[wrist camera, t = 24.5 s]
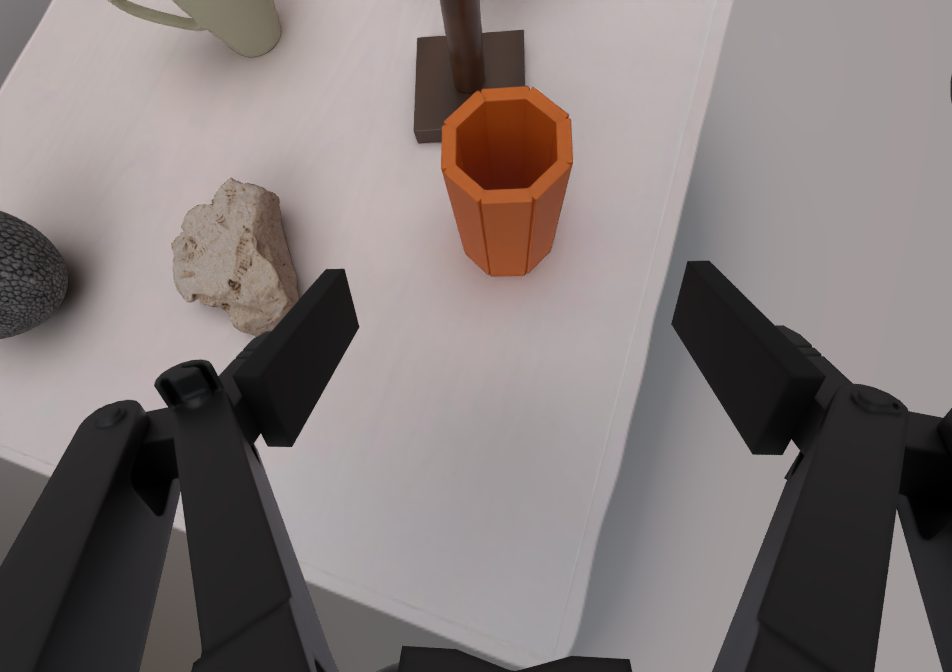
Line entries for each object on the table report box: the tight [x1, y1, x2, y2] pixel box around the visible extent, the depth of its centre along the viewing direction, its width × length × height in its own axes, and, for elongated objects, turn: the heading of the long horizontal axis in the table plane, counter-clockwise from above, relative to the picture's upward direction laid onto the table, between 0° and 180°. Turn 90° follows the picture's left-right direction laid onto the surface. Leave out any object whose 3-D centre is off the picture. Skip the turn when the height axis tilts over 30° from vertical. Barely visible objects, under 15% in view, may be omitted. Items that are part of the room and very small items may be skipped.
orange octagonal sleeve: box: [441, 86, 573, 276], centre depth 26 cm, size 7×7×11 cm
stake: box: [414, 0, 525, 143], centre depth 27 cm, size 9×9×15 cm
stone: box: [171, 178, 299, 336], centre depth 30 cm, size 9×11×5 cm
